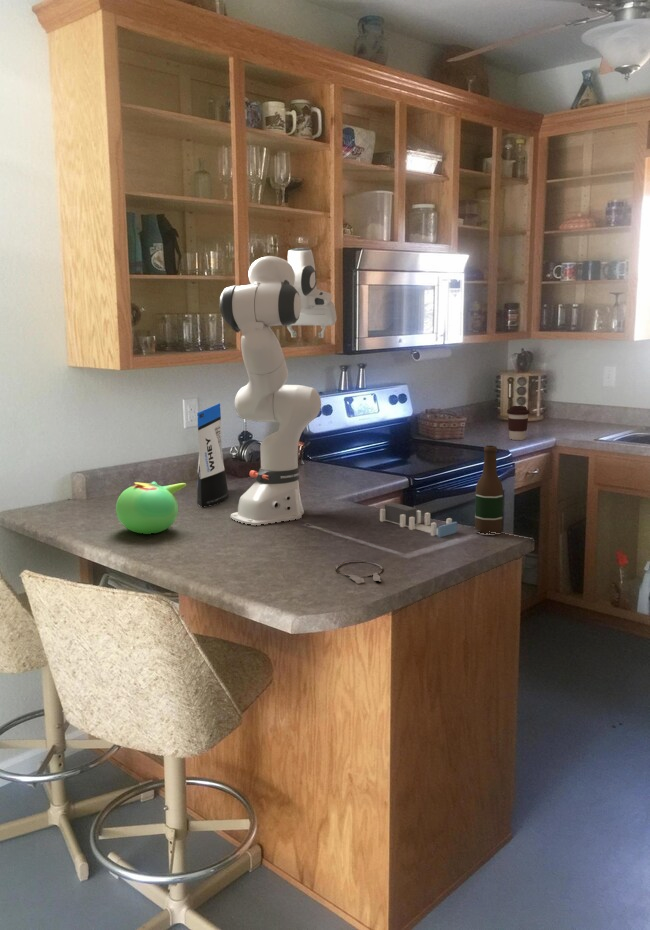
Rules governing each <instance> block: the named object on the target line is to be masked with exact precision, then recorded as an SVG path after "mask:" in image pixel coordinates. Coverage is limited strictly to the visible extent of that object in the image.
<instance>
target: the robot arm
mask: <svg viewBox="0 0 650 930" xmlns="http://www.w3.org/2000/svg"><path fill="white" fill-rule="evenodd" d="M316 271H317V270H316V265H315V259H314V254H313V251H312V249H311V248H308V247H295V248H291V249H289V250H288V251H287V260H286V259H285V258H281V257H278V256H274V255H267V256H263V257H262V256H261V257H260V258H258V259H256V260H254V261H253V262H252V263H251V265H250V266H249V269H248V281H249V284H245V285H243V284H242V285H238V284H235V285H230V286H227V287H225V288H224V289H223V291H222V292H221V293H220V297H219V310H220V315H221V318H222V319H223V320H224V322H225V323H226V325H228V326H229V327H231V329H232V331H233V332H234V333H240V332H241V337H240V351H241V356H242V359H243V363H244V366H245V370H246V372H247V376H248V382H247V384H246V385H244V386H242V387H240V389H239V390H238V391H237V393H236V394H235V398H234V408H235V411H236V413H237V415H238V416H239V417H240V418H241V419H242V420H247V421H252V422H259V423H260V422H261V423H264V422H265V423H266V422H267V423H278V430H277V431H275V432H272V433H271V434H269V435H267V436H266V437H265V436H264V438H263V440H262V441H261V443H260V447H259V449H260V467H259V469H258V471H257V470H254V469H253V470H250V471H249V476H250V478H255V479H256V481H254V483H253V484H252V485H251V486H250V487H249V488H248V489H247V490H246V491H245V492H244V493H243V494H242V495H241V496H240V497H239V500H238V505H237V511H236V512H233V513H231V514H230V519H231V518H232V519H233V520H232V519H231V520H232V521H234V520H235V521H234V522H237V521H238V522H237V523H239V522H241V523H240V524H243V523H245V524H244V525H247V524H251V525H250V526H256V525H257V526H262V525H261V524H264V525H269V524H268V523H271V524H275V522H277V523H282V522H281V521H284V522H288V521H289V520H290V521H295V519H296V520H301V519H302V517H303V515H304V514H305V511H304V508H303V504H302V503H303V502H302V500H301V499H302V498H301V495H300V493H301V492H300V487H299V481H300V467H299V466H298V465H299V464H298V463H299V461H298V459H299V458H298V456H299V455H298V452H299V443H300V438H301V435H302V433H303V431H304V430H305V428H307V426H308V425H309V424H310V423H312V421H314V420H315V419H316V418H317V417H318V415H319V414H320V411H321V408H322V400H321V395H320V394H319V392H318V391H317V389H316V388H314V387H311V386H307V385H301V384H285V383H286V382H287V381H288V378H289V370H288V366H287V362H286V359H285V355H284V351H283V349H282V346H281V343H280V341H279V340H278V338H277V336H276V334H275V332H274V331H273V329H272V328H271V327H275V326H277V327H278V326H283V327H285V326H286V329H287V330H288V331H289V333H290V335H291V336H290V338H297V335H298V334H297V331H296V330H294V328H293V326H320V329H321V331H318V334H317V335H318V338H319V339H320V338H321V339H323V338H324V337H325V330H326V328H327V326H330V327H331V326H334V325H335V324H336V323H337V319H338V318H337V312H336V306H335V304H334V302H333V301H332V298H333V296H332V293H330V292H328V291H324V290H321V289H318V287H317V274H316ZM300 518H301V519H300Z"/></svg>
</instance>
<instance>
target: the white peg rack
mask: <svg viewBox="0 0 650 930" xmlns="http://www.w3.org/2000/svg"><path fill="white" fill-rule="evenodd" d="M379 521H380V522H382V523H383V522H389V523H392V524H396V525H399V528H405V527H407V528H408V530H411V531H412V530H413V531H414V530H417V531H422V532H425V533H428V534H430V536H431V537H434V536H437V538H443V537H445V536H449V535H452V534H453V535H454V534H456V533H458V522H457V521H453V518H451V517H448V518H446V520H445V523H446V524H443V525H440V526H439V525H437V522H431V513H430V512H425V513H424V524H421V523H422V510H419V509H418V510H416V524H415V517H409V526H406V515H404V514H402V515H400V524H399V523H395V522H392V521H388V520H385V508H381V509H379Z"/></svg>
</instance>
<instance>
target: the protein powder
mask: <svg viewBox="0 0 650 930" xmlns="http://www.w3.org/2000/svg"><path fill="white" fill-rule="evenodd" d="M196 414H197V415H196V416H197V435H198V463H197V464H198V465H197V477H196V478H197V480H196V481H197V485H196V486H197V487H196V488H197V489H196V493H197V494H196V495H197V496H196V503H197V505H198V504H199V505H200V506H199V505H198V506H199V507H201V506H202V507H203V508H205V507H204V506H207V507H210V506H209V505H212V506H215V505H214V504H216V505H218V504H221V503H224V502H225V501H227V500H228V499H229V497H230V496H229V489H228V483H227V476H226V470H225V469H226V468H225V464H224V454H223V445H222V444H223V441H222V440H223V439H222V437H223V436H222V416H221V415H222V414H221V403H220V402H219V403H217V404H214V405H212V406H209V407H208V408H205V409H203V410H201V411H199V412H196ZM227 498H228V499H227ZM226 499H227V500H226ZM220 502H221V503H220ZM217 503H218V504H217ZM202 507H201V508H202Z"/></svg>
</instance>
